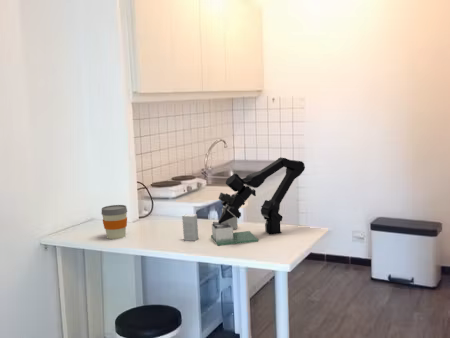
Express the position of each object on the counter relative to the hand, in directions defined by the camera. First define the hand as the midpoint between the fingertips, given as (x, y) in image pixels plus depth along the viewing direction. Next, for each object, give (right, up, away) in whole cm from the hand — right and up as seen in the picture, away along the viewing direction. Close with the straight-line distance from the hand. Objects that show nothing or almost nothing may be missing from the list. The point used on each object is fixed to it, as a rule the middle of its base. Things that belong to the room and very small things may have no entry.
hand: (219, 222), depth 242 cm
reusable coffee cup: (-52, -9, +18) cm, 56 cm away
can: (+6, -6, +22) cm, 24 cm away
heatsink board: (+7, -8, +2) cm, 11 cm away
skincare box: (-13, -9, +6) cm, 17 cm away
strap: (+1, -1, 0) cm, 1 cm away
